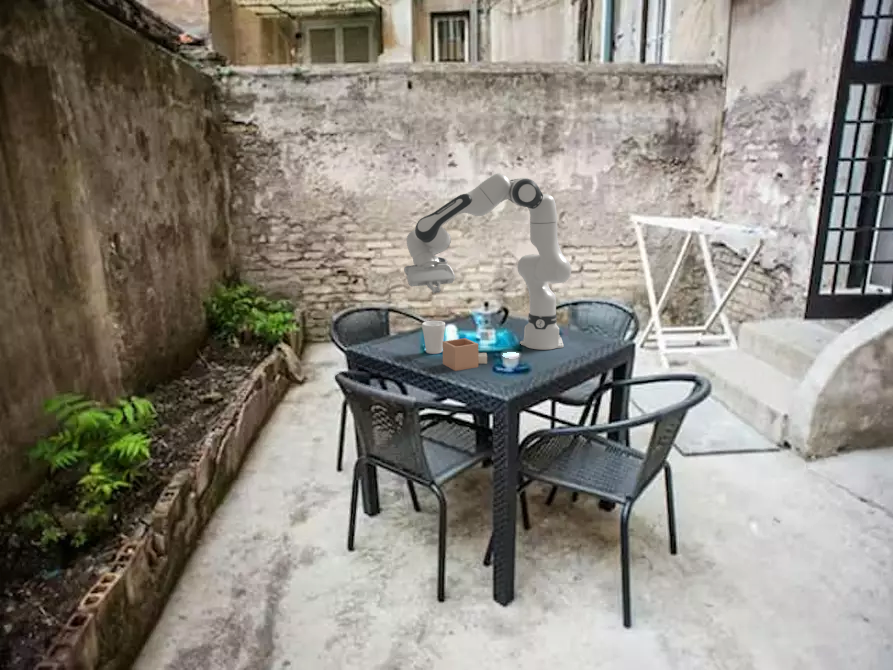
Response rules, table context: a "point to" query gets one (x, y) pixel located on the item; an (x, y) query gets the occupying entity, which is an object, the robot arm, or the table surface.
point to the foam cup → (433, 336)
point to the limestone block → (482, 358)
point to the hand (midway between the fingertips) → (437, 291)
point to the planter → (460, 354)
